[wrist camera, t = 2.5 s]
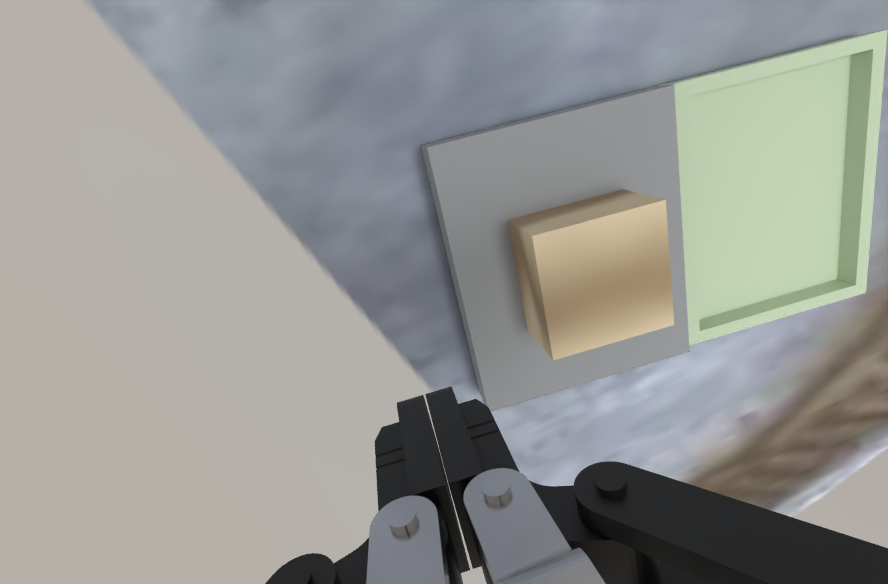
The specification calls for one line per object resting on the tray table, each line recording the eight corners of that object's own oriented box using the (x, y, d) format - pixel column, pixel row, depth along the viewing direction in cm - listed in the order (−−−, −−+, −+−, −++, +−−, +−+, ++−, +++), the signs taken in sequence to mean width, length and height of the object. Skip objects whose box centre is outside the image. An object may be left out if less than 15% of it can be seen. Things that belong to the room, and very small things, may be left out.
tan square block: (507, 220, 20) (531, 236, 17) (623, 188, 20) (665, 199, 17) (527, 329, 22) (553, 360, 19) (633, 299, 22) (674, 324, 19)
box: (652, 86, 21) (673, 84, 20) (853, 35, 22) (887, 29, 20) (670, 333, 25) (688, 345, 24) (838, 283, 26) (865, 292, 25)
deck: (420, 145, 20) (426, 147, 18) (646, 88, 21) (674, 84, 19) (478, 389, 25) (488, 412, 23) (665, 334, 25) (689, 351, 23)
